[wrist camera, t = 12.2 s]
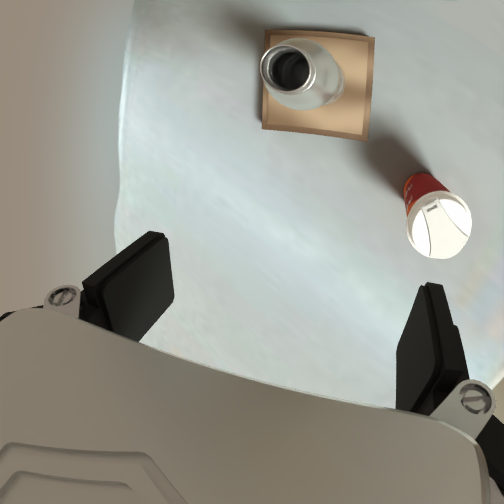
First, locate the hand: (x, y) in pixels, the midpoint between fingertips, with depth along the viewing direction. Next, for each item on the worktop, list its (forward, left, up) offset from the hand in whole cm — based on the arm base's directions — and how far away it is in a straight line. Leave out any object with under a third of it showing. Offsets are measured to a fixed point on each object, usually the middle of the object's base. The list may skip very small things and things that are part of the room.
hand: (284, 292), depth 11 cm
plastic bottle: (-8, -3, -33) cm, 34 cm away
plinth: (-8, -4, -36) cm, 37 cm away
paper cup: (+5, +12, -36) cm, 39 cm away
